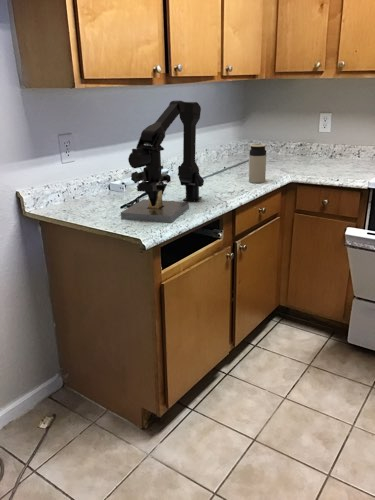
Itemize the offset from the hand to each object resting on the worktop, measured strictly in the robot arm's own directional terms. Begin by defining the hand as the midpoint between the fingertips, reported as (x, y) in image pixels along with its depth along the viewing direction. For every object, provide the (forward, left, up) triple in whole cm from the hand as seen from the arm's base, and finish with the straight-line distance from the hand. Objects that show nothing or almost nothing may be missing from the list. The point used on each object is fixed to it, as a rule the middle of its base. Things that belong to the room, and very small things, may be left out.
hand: (155, 204), depth 170 cm
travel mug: (-63, +27, -4) cm, 69 cm away
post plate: (0, 0, -4) cm, 4 cm away
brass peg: (0, 0, -4) cm, 4 cm away
